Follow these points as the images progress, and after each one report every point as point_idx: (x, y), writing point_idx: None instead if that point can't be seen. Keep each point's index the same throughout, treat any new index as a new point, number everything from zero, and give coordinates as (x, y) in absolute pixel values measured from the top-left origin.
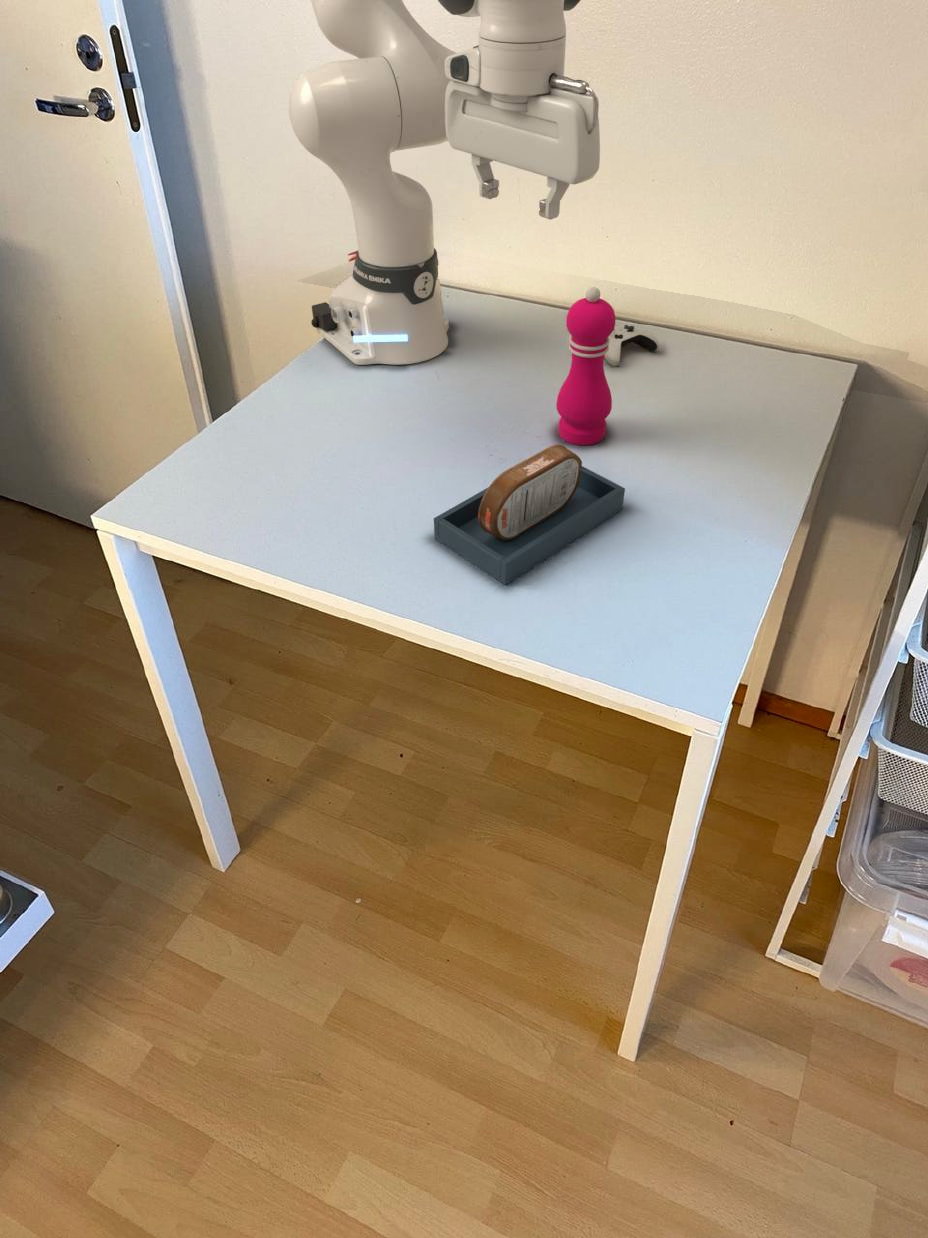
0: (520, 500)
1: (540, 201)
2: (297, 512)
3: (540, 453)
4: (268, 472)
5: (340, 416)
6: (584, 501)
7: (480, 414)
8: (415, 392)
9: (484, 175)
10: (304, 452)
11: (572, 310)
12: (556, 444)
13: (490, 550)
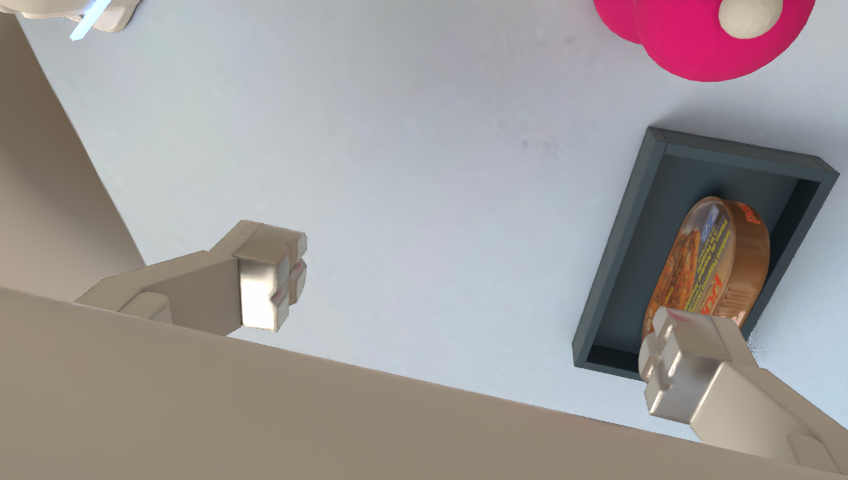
0: None
1: (655, 413)
2: (391, 373)
3: (714, 310)
4: (297, 333)
5: (248, 185)
6: (748, 184)
7: (425, 37)
8: (274, 46)
9: (215, 319)
10: None
11: (675, 59)
12: (729, 271)
13: None
